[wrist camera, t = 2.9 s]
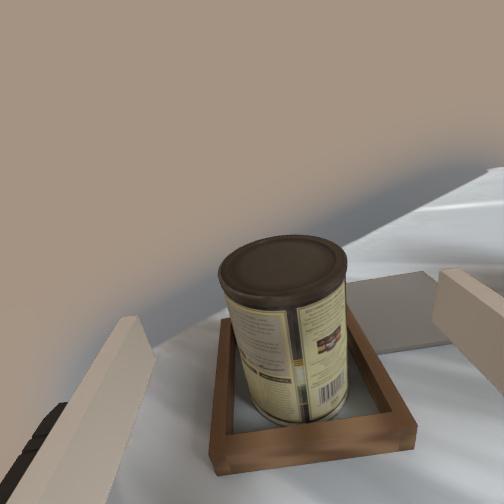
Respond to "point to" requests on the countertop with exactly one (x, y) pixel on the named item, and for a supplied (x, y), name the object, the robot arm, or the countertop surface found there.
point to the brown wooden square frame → (314, 434)
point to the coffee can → (290, 325)
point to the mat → (396, 311)
